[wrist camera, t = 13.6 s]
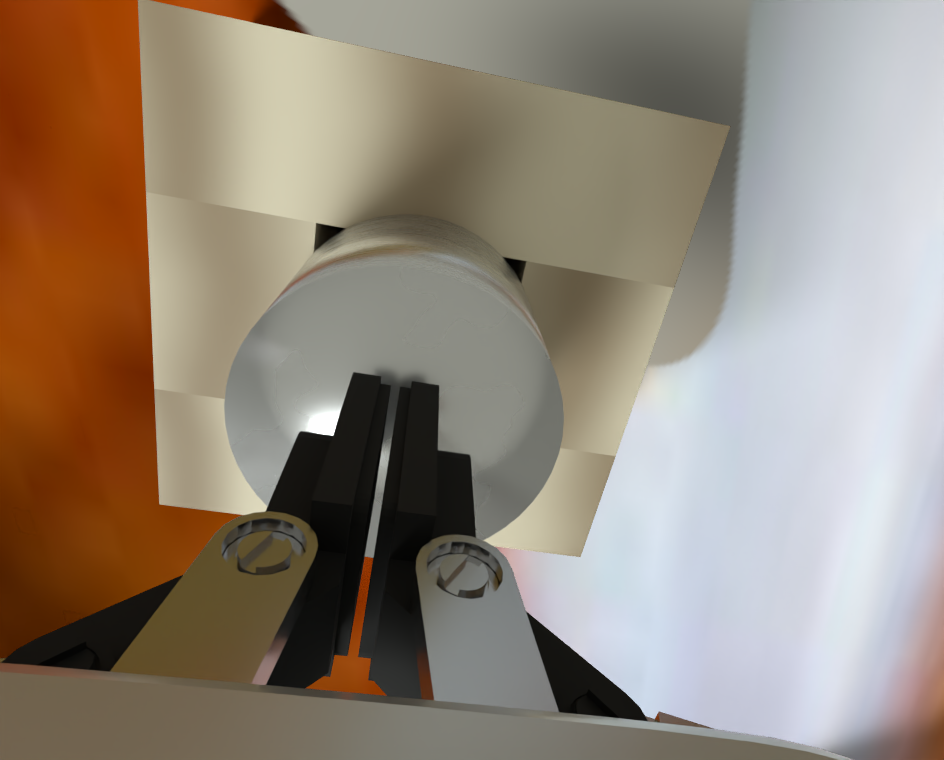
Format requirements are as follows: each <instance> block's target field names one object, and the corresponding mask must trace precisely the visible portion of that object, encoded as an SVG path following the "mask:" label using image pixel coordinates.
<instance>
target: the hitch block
mask: <svg viewBox="0 0 944 760" xmlns="http://www.w3.org/2000/svg"><path fill="white" fill-rule="evenodd" d="M138 11H139V35H140V58H141V82H142V106H143V129H144V153H145V176H146V200H147V224H148V247H149V271H150V294H151V318H152V342H153V365H154V389H155V412H156V436H157V460H158V483H159V504H161V505H169V506H177V507H185V508H193V509H201V510H209V511H217V512H225V513H233V514H241V515H247V514H251V513H256V512H265V511H266V509H267V506H266V505H265V503H264V502H263V501H262V500H261V499H260V498H259V497H258V496H257V495H256V493H255V492H254V491H253V489H252V488H251V486H250V485H249V484H248V482H247V481H246V480H245V478H244V476H243V474H242V472H241V470H240V469H239V467H238V465H237V463H236V460H235V458H234V455H233V452H232V450H231V447H230V444H229V440H228V435H227V431H226V426H225V411H224V402H225V392H226V384H227V380H228V377H229V373H230V369H231V366H232V363H233V361H234V359H235V356H236V354H237V352H238V350H239V347H240V346H241V344H242V343H243V341H244V340H245V338H246V337H247V335H248V333H249V332H250V330H251V329H252V328H253V326H254V325H255V324H256V323H257V322H258V320H259V319H260V318H261V317H262V315H263V314H264V313H265V312H266V310H267V309H268V308H269V307H270V306H271V304H272V303H273V302H274V301H275V299H276V298H277V297H278V296H279V294H280V293H281V292H282V291H283V290H284V288H285V287H286V286H287V285H288V283H289V282H290V281H291V280H292V278H293V277H294V276H295V275H296V274H297V272H298V271H299V270H300V269H301V267H302V266H303V265H304V264H305V262H306V261H307V260H308V259H309V258H310V257H311V256H312V254H313V253H314V252H315V251H316V250H317V249H318V248H319V247H320V246H321V245H323V244H324V243H325V242H326V241H327V240H328V239H330V238H331V237H333V236H334V235H336V234H337V233H339V232H341V231H342V230H344V229H346V228H348V227H350V226H352V225H355V224H357V223H359V222H362V221H365V220H369V219H372V218H376V217H381V216H388V215H396V214H414V215H422V216H430V217H434V218H438V219H442V220H446V221H449V222H451V223H454V224H456V225H459V226H461V227H464V228H466V229H467V230H469V231H471V232H473V233H474V234H476V235H478V236H479V237H481V238H482V239H483V240H485V241H486V242H487V243H489V244H490V245H491V246H493V247H494V248H495V249H496V250H497V251H498V252H499V253H500V254H501V255H502V256H503V257H504V258H505V260H506V261H507V262H508V263H509V265H510V266H511V267H512V269H513V270H514V271H515V273H516V275H517V277H518V278H519V280H520V282H521V284H522V285H523V288H524V290H525V293H526V295H527V298H528V300H529V303H530V306H531V308H532V311H533V314H534V316H535V319H536V322H537V325H538V327H539V330H540V333H541V335H542V338H543V341H544V343H545V346H546V349H547V351H548V354H549V357H550V359H551V362H552V365H553V367H554V370H555V373H556V375H557V378H558V382H559V386H560V390H561V394H562V399H563V412H564V424H563V437H562V442H561V446H560V451H559V455H558V458H557V460H556V463H555V465H554V468H553V471H552V473H551V475H550V476H549V478H548V480H547V482H546V484H545V485H544V487H543V489H542V490H541V491H540V493H539V494H538V496H537V497H536V498H535V500H534V501H533V502H532V503H531V504H530V505H529V506H528V507H527V509H526V510H525V511H524V512H523V513H522V514H521V515H520V516H519V517H517V518H516V519H515V520H514V521H512V522H511V523H510V524H509V525H507V526H506V527H505V528H503V529H502V530H500V531H499V532H497V533H495V534H494V535H492V536H491V537H489V538H487V539H485V540H483V541H485V542H487V543H489V544H490V545H492V546H496V547H504V548H512V549H520V550H528V551H536V552H544V553H552V554H560V555H568V556H576V557H581V554H582V551H583V548H584V545H585V542H586V539H587V536H588V534H589V531H590V528H591V525H592V522H593V519H594V516H595V514H596V511H597V508H598V505H599V502H600V499H601V496H602V493H603V491H604V488H605V485H606V482H607V479H608V476H609V473H610V470H611V468H612V465H613V462H614V459H615V456H616V453H617V450H618V448H619V445H620V442H621V439H622V436H623V433H624V430H625V427H626V425H627V422H628V419H629V416H630V413H631V410H632V407H633V405H634V402H635V399H636V396H637V393H638V390H639V387H640V384H641V382H642V379H643V376H644V373H645V370H646V367H647V364H648V361H649V358H650V356H651V353H652V350H653V347H654V344H655V341H656V339H657V336H658V333H659V330H660V327H661V324H662V321H663V318H664V316H665V313H666V310H667V307H668V304H669V301H670V298H671V296H672V293H673V290H674V287H675V284H676V281H677V278H678V275H679V272H680V270H681V267H682V264H683V261H684V258H685V255H686V253H687V250H688V247H689V244H690V241H691V238H692V235H693V232H694V230H695V227H696V224H697V221H698V218H699V215H700V212H701V210H702V207H703V204H704V201H705V198H706V195H707V192H708V189H709V187H710V184H711V181H712V178H713V175H714V172H715V169H716V167H717V164H718V161H719V158H720V155H721V152H722V149H723V146H724V143H725V140H726V138H727V134H728V132H729V129H730V126H727V125H722V124H718V123H713V122H709V121H704V120H700V119H695V118H690V117H686V116H681V115H676V114H672V113H667V112H663V111H658V110H653V109H649V108H644V107H639V106H635V105H630V104H625V103H621V102H616V101H612V100H607V99H603V98H598V97H593V96H588V95H584V94H579V93H575V92H570V91H566V90H561V89H556V88H552V87H547V86H543V85H538V84H532V83H528V82H524V81H519V80H515V79H510V78H506V77H501V76H496V75H492V74H487V73H483V72H478V71H473V70H468V69H464V68H459V67H455V66H450V65H446V64H441V63H436V62H432V61H427V60H422V59H417V58H413V57H409V56H404V55H399V54H395V53H390V52H385V51H381V50H376V49H372V48H367V47H362V46H358V45H353V44H348V43H344V42H339V41H334V40H330V39H325V38H321V37H316V36H312V35H307V34H302V33H298V32H293V31H288V30H284V29H279V28H275V27H270V26H265V25H261V24H256V23H252V22H247V21H242V20H238V19H233V18H228V17H224V16H219V15H215V14H210V13H205V12H201V11H196V10H191V9H187V8H182V7H178V6H173V5H168V4H164V3H159V2H155V1H150V0H138Z"/></svg>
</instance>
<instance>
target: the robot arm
mask: <svg viewBox="0 0 944 760" xmlns="http://www.w3.org/2000/svg"><path fill="white" fill-rule="evenodd" d="M390 390H391V385H387V384H381V376H376V375H370V374H363V373H356V372H353V374H352V377H351V380H350V383H349V386H348V390H347V393H346V396H345V399H344V402H343V405H342V408H341V411H340V414H339V418H338V421H337V424H336V427H335V430H334V433H333V435H327V434H320V433H313V432H306V431H300V432H299V434H298V436H297V438H296V440H295V442H294V445H293V447H292V450H291V452H290V454H289V457H288V459H287V461H286V464H285V466H284V469H283V471H282V473H281V476H280V478H279V480H278V483H277V485H276V488H275V490H274V492H273V495H272V497H271V499H270V502H269V504H268V506H267V509H266V511H265V512H256V513H251V514H247V515H244V516H240V517H238V518H236V519H234V520H232V521H230V522H228V523H226V524H225V525H224V526H223V527H222V528H221V529H219V530H218V531H217V532H216V533H215V534H214V536H213V537H212V538H211V540H210V541H209V542H208V544H207V545H206V546H205V548H204V549H203V550H202V551H201V553H200V554H199V555H198V557H197V558H196V559H195V561H194V562H193V563H192V565H191V566H190V567H189V568H188V570H187V571H186V572H185V574H184V575H182V576H180V577H177V578H175V579H173V580H170V581H168V582H166V583H163V584H161V585H159V586H156V587H154V588H152V589H150V590H147V591H145V592H143V593H140V594H138V595H136V596H133V597H131V598H129V599H127V600H124V601H122V602H120V603H117V604H115V605H113V606H110V607H108V608H106V609H103V610H101V611H99V612H97V613H94V614H92V615H90V616H87V617H85V618H83V619H80V620H78V621H76V622H74V623H71V624H69V625H67V626H64V627H62V628H60V629H57V630H55V631H53V632H50V633H48V634H46V635H44V636H41V637H39V638H37V639H35V640H33V641H31V642H30V643H28V644H26V645H24V646H22V647H20V648H19V649H17V650H16V651H14V652H13V653H12V654H11V655H9V656H8V657H7V658H2V659H0V760H854V759H850V758H847V757H844V756H841V755H838V754H835V753H832V752H829V751H826V750H823V749H820V748H816V747H812V746H807V745H803V744H799V743H794V742H790V741H786V740H781V739H777V738H772V737H765V736H758V735H751V734H743V733H737V732H731V731H724V730H718V729H713V728H710V727H707V726H704V725H701V724H697V723H694V722H691V721H688V720H685V719H681V718H678V717H675V716H672V715H669V714H665V713H662V712H658V714H657V716H656V718H655V719H653V718H649V717H646V716H645V715H644V714H643V712H642V710H641V709H640V707H639V706H638V705H637V704H636V703H635V702H634V701H633V700H632V699H631V698H630V697H629V696H628V695H627V694H626V693H625V692H623V691H622V690H621V689H620V688H619V687H617V686H616V685H615V684H614V683H613V682H611V681H610V680H609V679H608V678H606V677H605V676H604V675H603V674H602V673H600V672H599V671H598V670H597V669H596V668H594V667H593V666H592V665H591V664H589V663H588V662H587V661H586V660H585V659H583V658H582V657H581V656H580V655H579V654H577V653H576V652H575V651H574V650H572V649H571V648H570V647H569V646H568V645H566V644H565V643H564V642H563V641H561V640H560V639H559V638H558V637H557V636H555V635H554V634H553V633H552V632H551V631H549V630H548V629H547V628H546V627H544V626H543V625H542V624H541V623H540V622H538V621H537V620H536V619H535V618H534V617H532V616H531V615H530V614H529V613H527V612H526V610H525V607H524V604H523V601H522V598H521V595H520V592H519V589H518V586H517V583H516V580H515V577H514V574H513V570H512V568H511V566H510V564H509V562H508V560H507V559H506V557H505V556H504V555H503V554H502V553H501V552H500V551H499V550H498V549H497V548H495V547H494V546H492V545H490V544H489V543H487V542H485V541H483V540H480V539H477V538H476V529H475V514H474V498H473V483H472V468H471V457H470V455H469V454H463V453H456V452H448V451H441V450H438V422H439V385H435V384H428V383H422V382H415V381H412V383H411V388H407V387H400V390H399V396H398V403H397V409H396V416H395V422H394V428H393V435H392V441H391V448H390V454H389V461H388V467H387V473H386V480H385V486H384V493H383V499H382V506H381V512H380V519H379V525H378V532H377V538H376V545H375V551H374V558H373V564H372V571H371V577H370V584H369V590H368V597H367V603H366V610H365V616H364V623H363V629H362V636H361V642H360V649H359V655H358V657H364V658H371V664H370V671H369V679H368V680H372V681H375V683H376V684H377V685H378V686H379V687H380V688H381V689H382V690H383V691H384V692H385V694H386V695H387V696H381V695H370V694H359V693H348V692H337V691H326V690H315V689H305V688H306V687H308V686H309V685H311V684H312V683H314V682H315V681H317V680H318V679H320V678H321V677H323V676H329V677H330V675H331V670H332V665H333V660H334V655H343V656H347V655H348V650H349V644H350V638H351V632H352V626H353V621H354V615H355V609H356V603H357V598H358V592H359V586H360V580H361V574H362V569H363V563H364V557H365V551H366V545H367V540H368V534H369V528H370V522H371V516H372V511H373V504H374V498H375V491H376V484H377V478H378V471H379V464H380V457H381V451H382V444H383V437H384V430H385V424H386V417H387V410H388V403H389V397H390Z"/></svg>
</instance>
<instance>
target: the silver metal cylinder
mask: <svg viewBox="0 0 944 760" xmlns="http://www.w3.org/2000/svg"><path fill="white" fill-rule="evenodd" d="M353 372H356V373H363V374H370V375H376V376H381V384H387V385H391V390H390V397H389V403H388V410H387V417H386V424H385V430H384V437H383V444H382V451H381V457H380V464H379V471H378V478H377V484H376V491H375V498H374V504H373V511H372V516H371V522H370V528H369V534H368V540H367V545H366V551H365V556H366V557H372V558H374V551H375V545H376V538H377V532H378V525H379V519H380V512H381V506H382V499H383V493H384V486H385V480H386V473H387V467H388V461H389V454H390V448H391V441H392V435H393V428H394V422H395V416H396V409H397V403H398V396H399V390H400V387H407V388H411V383H412V381H415V382H422V383H428V384H435V385H439V422H438V450H441V451H448V452H456V453H463V454H469V455H470V457H471V468H472V483H473V498H474V514H475V529H476V538H477V539H480V540H485V539H487V538H489V537H491V536H492V535H494V534H495V533H497V532H499V531H500V530H502V529H503V528H505V527H506V526H507V525H509V524H510V523H511V522H512V521H514V520H515V519H516V518H517V517H519V516H520V515H521V514H522V513H523V512H524V511H525V510H526V509H527V507H528V506H529V505H530V504H531V503H532V502H533V501H534V500H535V498H536V497H537V496H538V494H539V493H540V491H541V490H542V489H543V487H544V485H545V484H546V482H547V480H548V478H549V476H550V475H551V473H552V471H553V468H554V465H555V463H556V460H557V458H558V455H559V451H560V446H561V442H562V437H563V424H564V412H563V399H562V394H561V390H560V386H559V382H558V378H557V375H556V373H555V370H554V367H553V365H552V362H551V359H550V357H549V354H548V351H547V349H546V346H545V343H544V341H543V338H542V335H541V333H540V330H539V327H538V325H537V322H536V319H535V316H534V314H533V311H532V308H531V306H530V303H529V300H528V298H527V295H526V293H525V290H524V288H523V285H522V284H521V282H520V280H519V278H518V277H517V275H516V273H515V271H514V270H513V269H512V267H511V266H510V265H509V263H508V262H507V261H506V260H505V258H504V257H503V256H502V255H501V254H500V253H499V252H498V251H497V250H496V249H495V248H494V247H493V246H491V245H490V244H489V243H487V242H486V241H485V240H483V239H482V238H481V237H479V236H478V235H476V234H474V233H473V232H471V231H469V230H467V229H466V228H464V227H461V226H459V225H456V224H454V223H451V222H449V221H446V220H442V219H438V218H434V217H430V216H422V215H414V214H396V215H388V216H381V217H376V218H372V219H369V220H365V221H362V222H359V223H357V224H355V225H352V226H350V227H348V228H346V229H344V230H342V231H341V232H339V233H337V234H336V235H334V236H333V237H331V238H330V239H328V240H327V241H326V242H325V243H324V244H323V245H321V246H320V247H319V248H318V249H317V250H316V251H315V252H314V253H313V254H312V256H311V257H310V258H309V259H308V260H307V261H306V262H305V264H304V265H303V266H302V267H301V269H300V270H299V271H298V272H297V274H296V275H295V276H294V277H293V278H292V280H291V281H290V282H289V283H288V285H287V286H286V287H285V288H284V290H283V291H282V292H281V293H280V294H279V296H278V297H277V298H276V299H275V301H274V302H273V303H272V304H271V306H270V307H269V308H268V309H267V310H266V312H265V313H264V314H263V315H262V317H261V318H260V319H259V320H258V322H257V323H256V324H255V325H254V326H253V328H252V329H251V330H250V332H249V333H248V335H247V337H246V338H245V340H244V341H243V343H242V344H241V346H240V347H239V350H238V352H237V354H236V356H235V359H234V361H233V363H232V366H231V369H230V373H229V377H228V380H227V384H226V392H225V402H224V411H225V426H226V431H227V435H228V440H229V444H230V447H231V450H232V452H233V455H234V458H235V460H236V463H237V465H238V467H239V469H240V470H241V472H242V474H243V476H244V478H245V480H246V481H247V482H248V484H249V485H250V486H251V488H252V489H253V491H254V492H255V493H256V495H257V496H258V497H259V498H260V499H261V500H262V501H263V502H264V503H265V505H266V506H268V504H269V502H270V499H271V497H272V495H273V492H274V490H275V488H276V485H277V483H278V480H279V478H280V476H281V473H282V471H283V469H284V466H285V464H286V461H287V459H288V457H289V454H290V452H291V450H292V447H293V445H294V442H295V440H296V438H297V436H298V434H299V432H300V431H306V432H313V433H320V434H327V435H333V433H334V430H335V427H336V424H337V421H338V418H339V414H340V411H341V408H342V405H343V402H344V399H345V396H346V393H347V390H348V386H349V383H350V380H351V377H352V374H353Z"/></svg>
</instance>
